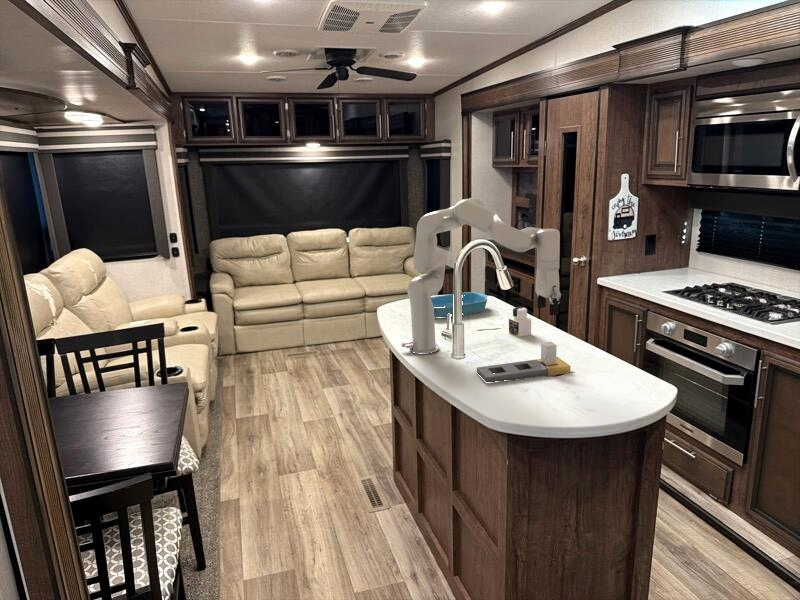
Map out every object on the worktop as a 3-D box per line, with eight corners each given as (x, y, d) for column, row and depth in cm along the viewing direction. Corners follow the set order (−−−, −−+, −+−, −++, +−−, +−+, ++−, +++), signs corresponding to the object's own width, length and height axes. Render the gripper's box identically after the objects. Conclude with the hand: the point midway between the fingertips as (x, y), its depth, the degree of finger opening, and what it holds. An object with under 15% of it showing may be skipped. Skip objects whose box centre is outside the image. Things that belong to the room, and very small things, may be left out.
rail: (486, 384, 192) (486, 377, 191) (476, 373, 201) (476, 367, 200) (570, 372, 197) (570, 365, 197) (557, 362, 207) (557, 356, 206)
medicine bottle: (508, 333, 244) (508, 307, 241) (521, 330, 247) (521, 304, 244) (518, 337, 238) (518, 311, 235) (531, 334, 240) (531, 308, 237)
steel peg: (546, 372, 199) (546, 346, 196) (541, 368, 202) (541, 343, 200) (556, 370, 199) (556, 345, 197) (550, 367, 203) (551, 341, 201)
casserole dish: (428, 323, 267) (427, 309, 265) (413, 312, 287) (412, 299, 286) (495, 312, 277) (495, 299, 276) (476, 302, 298) (476, 290, 296)
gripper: (527, 261, 199) (527, 306, 203) (549, 269, 183) (548, 318, 187) (546, 259, 200) (546, 304, 205) (570, 267, 184) (569, 316, 188)
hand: (547, 311), depth 196 cm, fingers open, 9 cm apart
